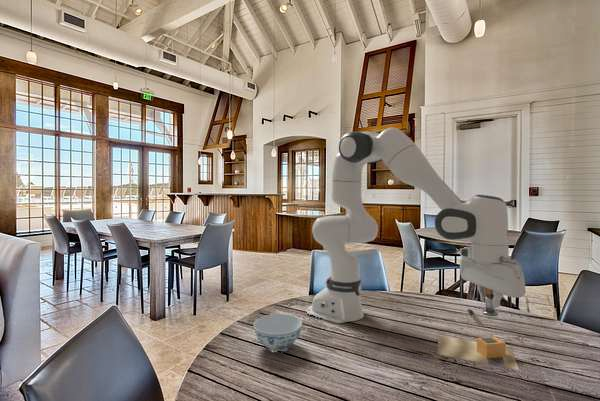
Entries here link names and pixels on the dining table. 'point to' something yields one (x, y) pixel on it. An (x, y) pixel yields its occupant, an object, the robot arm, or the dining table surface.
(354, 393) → the dining table surface
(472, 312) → the tactical tomahawk
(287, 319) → the chinaware
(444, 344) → the panel
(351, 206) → the robot arm
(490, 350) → the orange box
